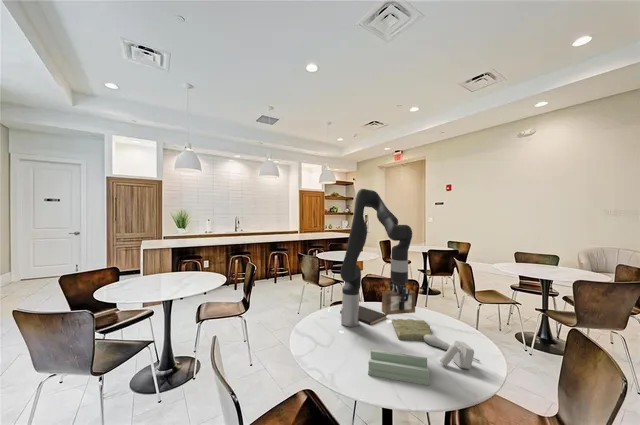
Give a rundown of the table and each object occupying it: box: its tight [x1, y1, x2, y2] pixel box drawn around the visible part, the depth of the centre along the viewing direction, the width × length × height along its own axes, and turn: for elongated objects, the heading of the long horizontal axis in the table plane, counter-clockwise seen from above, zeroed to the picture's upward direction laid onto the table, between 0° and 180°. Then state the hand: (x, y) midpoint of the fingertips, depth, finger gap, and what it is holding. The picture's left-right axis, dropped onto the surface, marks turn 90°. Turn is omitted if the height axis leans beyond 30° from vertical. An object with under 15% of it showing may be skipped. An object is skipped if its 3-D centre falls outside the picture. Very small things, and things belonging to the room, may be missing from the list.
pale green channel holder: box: [367, 349, 431, 386], centre depth 108 cm, size 22×12×4 cm, turn 73°
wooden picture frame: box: [381, 289, 417, 316], centre depth 122 cm, size 14×4×9 cm, turn 103°
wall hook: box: [439, 340, 475, 370], centre depth 112 cm, size 8×10×10 cm
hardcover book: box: [339, 305, 388, 326], centre depth 165 cm, size 16×23×2 cm
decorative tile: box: [391, 318, 433, 342], centre depth 144 cm, size 19×20×4 cm
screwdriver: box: [424, 334, 481, 362], centre depth 124 cm, size 5×25×4 cm, turn 40°
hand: (398, 307), depth 122 cm, fingers closed on wooden picture frame, 4 cm apart
